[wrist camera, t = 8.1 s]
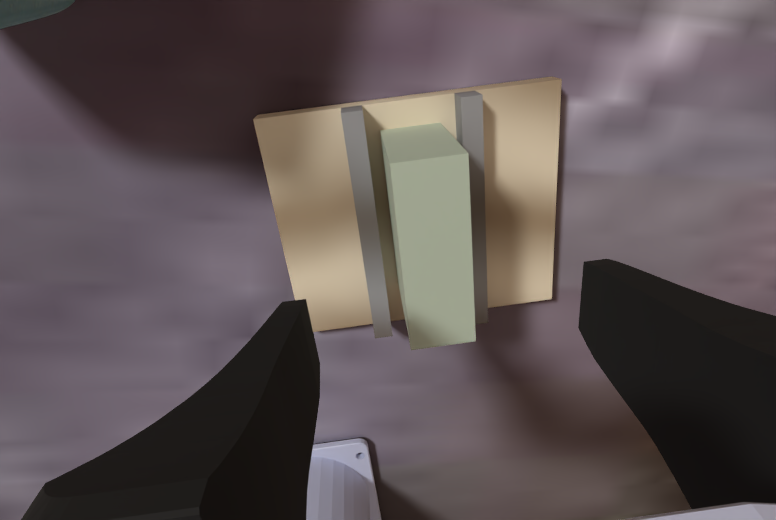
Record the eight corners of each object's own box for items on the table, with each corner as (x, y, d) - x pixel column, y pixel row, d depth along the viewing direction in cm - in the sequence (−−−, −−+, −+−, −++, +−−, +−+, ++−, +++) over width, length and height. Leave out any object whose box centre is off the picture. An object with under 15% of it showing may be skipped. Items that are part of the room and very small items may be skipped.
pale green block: (449, 276, 22) (475, 341, 18) (398, 283, 22) (411, 350, 18) (440, 122, 19) (468, 152, 15) (380, 130, 19) (389, 163, 15)
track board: (544, 288, 24) (561, 312, 22) (304, 321, 24) (300, 348, 22) (551, 76, 20) (574, 82, 18) (257, 114, 19) (247, 125, 17)
